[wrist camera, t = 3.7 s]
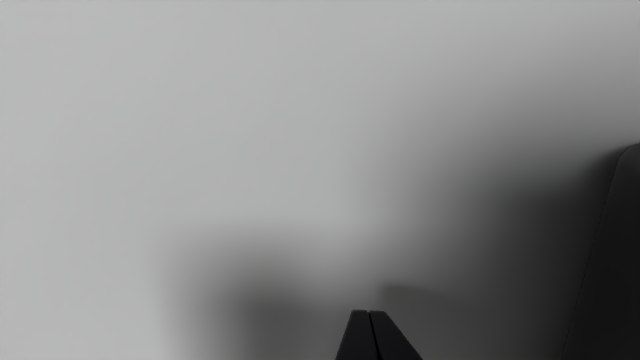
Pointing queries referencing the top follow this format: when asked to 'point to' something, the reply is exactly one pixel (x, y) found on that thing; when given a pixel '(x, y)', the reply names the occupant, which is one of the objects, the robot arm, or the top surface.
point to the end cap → (612, 275)
